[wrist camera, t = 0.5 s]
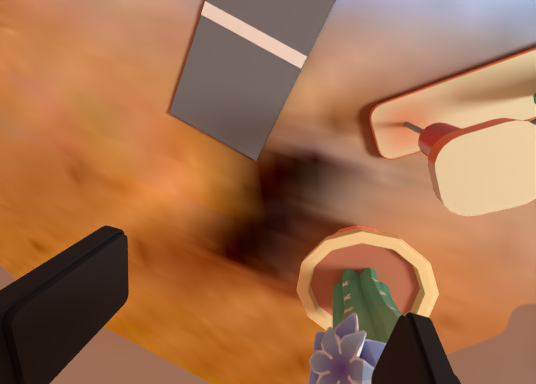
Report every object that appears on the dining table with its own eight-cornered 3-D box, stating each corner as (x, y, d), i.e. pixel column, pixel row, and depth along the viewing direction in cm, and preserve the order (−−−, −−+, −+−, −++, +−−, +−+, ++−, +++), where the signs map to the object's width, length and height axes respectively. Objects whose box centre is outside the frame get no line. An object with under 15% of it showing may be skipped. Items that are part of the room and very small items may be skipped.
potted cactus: (420, 199, 35) (586, 413, 12) (416, 300, 40) (529, 586, 17) (296, 205, 39) (247, 378, 16) (307, 297, 44) (281, 529, 21)
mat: (270, -189, 26) (269, -196, 25) (396, -123, 26) (398, -128, 25) (171, 112, 38) (168, 113, 37) (256, 159, 38) (255, 160, 37)
